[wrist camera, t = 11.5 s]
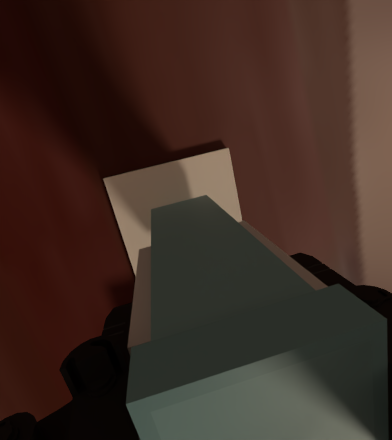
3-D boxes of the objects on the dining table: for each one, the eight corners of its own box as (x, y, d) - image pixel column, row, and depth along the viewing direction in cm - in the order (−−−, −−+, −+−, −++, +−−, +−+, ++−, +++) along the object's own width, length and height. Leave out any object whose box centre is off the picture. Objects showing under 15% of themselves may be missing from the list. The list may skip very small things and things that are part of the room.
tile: (140, 287, 21) (140, 291, 21) (104, 177, 19) (103, 178, 18) (246, 257, 22) (249, 260, 22) (226, 147, 20) (228, 147, 19)
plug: (162, 265, 19) (191, 563, 5) (145, 206, 17) (125, 404, 4) (222, 248, 19) (389, 486, 6) (209, 189, 18) (387, 318, 4)
